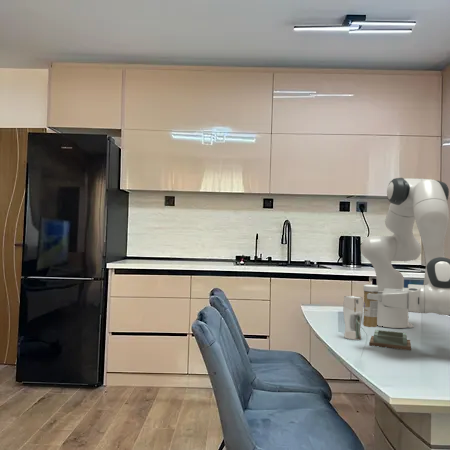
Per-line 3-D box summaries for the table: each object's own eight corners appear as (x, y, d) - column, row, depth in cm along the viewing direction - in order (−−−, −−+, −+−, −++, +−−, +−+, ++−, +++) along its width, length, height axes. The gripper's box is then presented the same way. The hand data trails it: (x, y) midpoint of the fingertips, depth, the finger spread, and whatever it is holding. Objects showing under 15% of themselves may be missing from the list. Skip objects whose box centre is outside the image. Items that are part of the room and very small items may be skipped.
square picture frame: (371, 338, 155) (371, 328, 155) (410, 342, 150) (410, 332, 150) (369, 345, 143) (369, 335, 143) (411, 350, 138) (411, 339, 138)
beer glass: (338, 336, 156) (339, 295, 157) (354, 335, 158) (355, 295, 159) (350, 340, 149) (351, 298, 150) (366, 340, 152) (367, 298, 152)
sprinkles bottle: (360, 324, 140) (361, 284, 141) (373, 324, 141) (374, 284, 141) (367, 327, 136) (367, 285, 136) (380, 327, 136) (380, 285, 137)
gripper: (412, 285, 143) (370, 283, 149) (415, 291, 124) (365, 288, 130) (412, 304, 143) (369, 301, 148) (414, 312, 124) (365, 308, 129)
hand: (367, 295), depth 139 cm, fingers closed on sprinkles bottle, 4 cm apart
